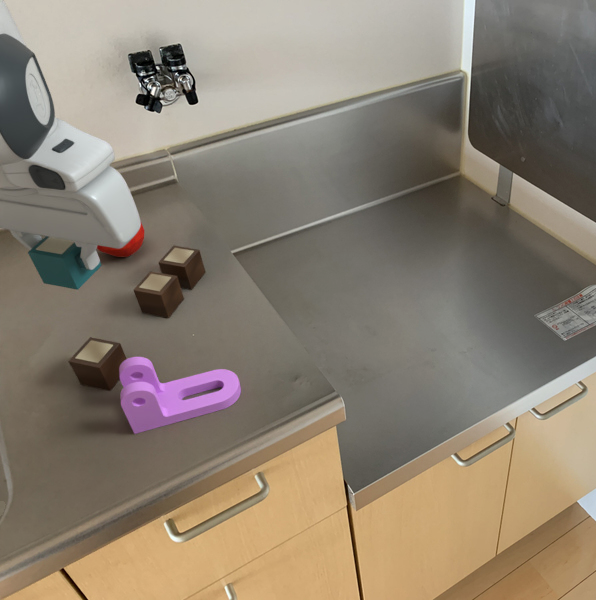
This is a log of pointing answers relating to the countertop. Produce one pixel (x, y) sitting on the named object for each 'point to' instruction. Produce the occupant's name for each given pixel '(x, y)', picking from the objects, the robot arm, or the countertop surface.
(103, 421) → the countertop surface
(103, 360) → the block
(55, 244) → the letter block
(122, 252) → the apple
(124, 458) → the countertop surface
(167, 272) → the block
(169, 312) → the block
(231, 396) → the bracket
